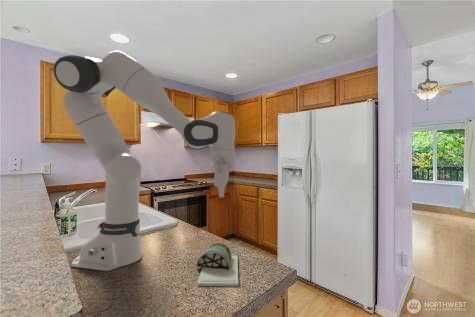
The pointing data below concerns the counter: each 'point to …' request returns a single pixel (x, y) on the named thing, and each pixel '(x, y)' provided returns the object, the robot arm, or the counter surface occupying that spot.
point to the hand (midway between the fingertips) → (221, 196)
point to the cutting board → (220, 275)
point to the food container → (215, 257)
